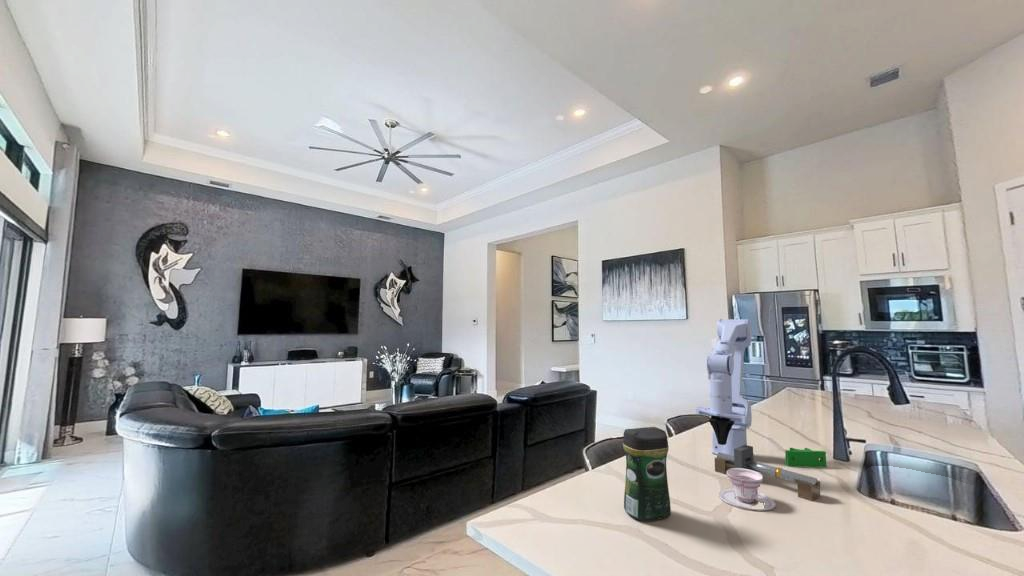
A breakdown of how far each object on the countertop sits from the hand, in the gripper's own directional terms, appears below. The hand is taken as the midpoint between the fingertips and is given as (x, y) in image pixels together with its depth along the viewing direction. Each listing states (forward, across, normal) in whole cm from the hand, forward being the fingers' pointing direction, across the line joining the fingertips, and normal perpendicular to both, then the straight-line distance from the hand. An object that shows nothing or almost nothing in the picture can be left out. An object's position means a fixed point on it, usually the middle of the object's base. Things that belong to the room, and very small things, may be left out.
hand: (722, 444), depth 121 cm
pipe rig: (+7, +11, 0) cm, 13 cm away
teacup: (+8, +14, -15) cm, 22 cm away
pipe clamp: (+8, +11, +25) cm, 29 cm away
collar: (+7, +6, 0) cm, 9 cm away
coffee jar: (+8, +5, -41) cm, 42 cm away
